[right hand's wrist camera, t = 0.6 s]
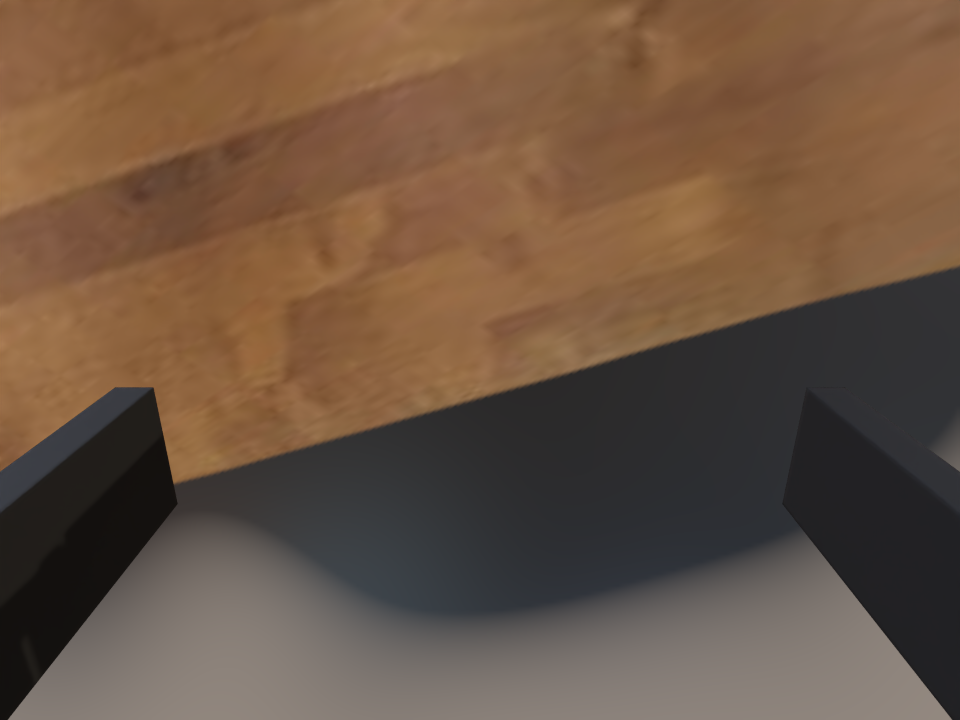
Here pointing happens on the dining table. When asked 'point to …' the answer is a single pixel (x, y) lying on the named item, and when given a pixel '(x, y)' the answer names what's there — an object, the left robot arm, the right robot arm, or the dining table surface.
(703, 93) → the dining table surface
